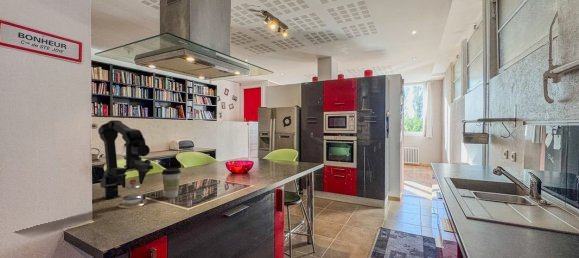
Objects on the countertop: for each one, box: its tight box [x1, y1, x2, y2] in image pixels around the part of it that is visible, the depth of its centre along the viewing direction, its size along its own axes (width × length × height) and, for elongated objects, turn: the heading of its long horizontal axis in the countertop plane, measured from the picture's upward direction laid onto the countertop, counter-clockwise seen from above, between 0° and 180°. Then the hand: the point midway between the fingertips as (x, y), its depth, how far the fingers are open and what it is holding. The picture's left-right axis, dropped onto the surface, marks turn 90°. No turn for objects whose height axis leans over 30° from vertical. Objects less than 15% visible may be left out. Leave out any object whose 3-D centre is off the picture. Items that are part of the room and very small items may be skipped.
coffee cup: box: [161, 167, 182, 199], centre depth 138 cm, size 10×10×15 cm
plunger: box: [125, 178, 141, 190], centre depth 124 cm, size 6×6×4 cm
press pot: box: [118, 193, 148, 209], centre depth 124 cm, size 12×12×4 cm
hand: (132, 185), depth 124 cm, fingers open, 8 cm apart
